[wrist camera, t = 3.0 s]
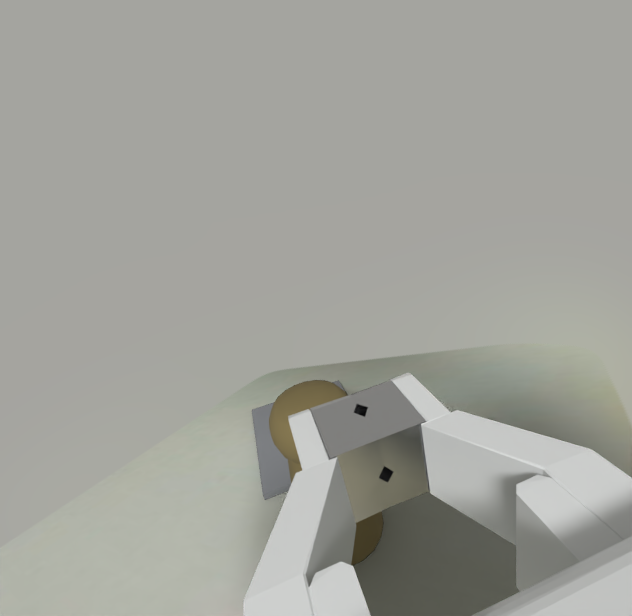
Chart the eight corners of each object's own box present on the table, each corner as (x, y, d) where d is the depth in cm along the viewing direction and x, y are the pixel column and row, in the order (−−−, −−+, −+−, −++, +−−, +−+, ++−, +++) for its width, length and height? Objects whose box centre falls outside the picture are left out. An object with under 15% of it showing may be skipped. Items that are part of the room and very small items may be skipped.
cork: (370, 475, 27) (345, 358, 23) (395, 554, 21) (369, 418, 17) (295, 494, 27) (257, 379, 22) (301, 579, 21) (252, 448, 17)
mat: (264, 499, 27) (262, 494, 27) (253, 414, 37) (251, 409, 37) (380, 455, 28) (379, 449, 28) (339, 384, 38) (338, 380, 38)
